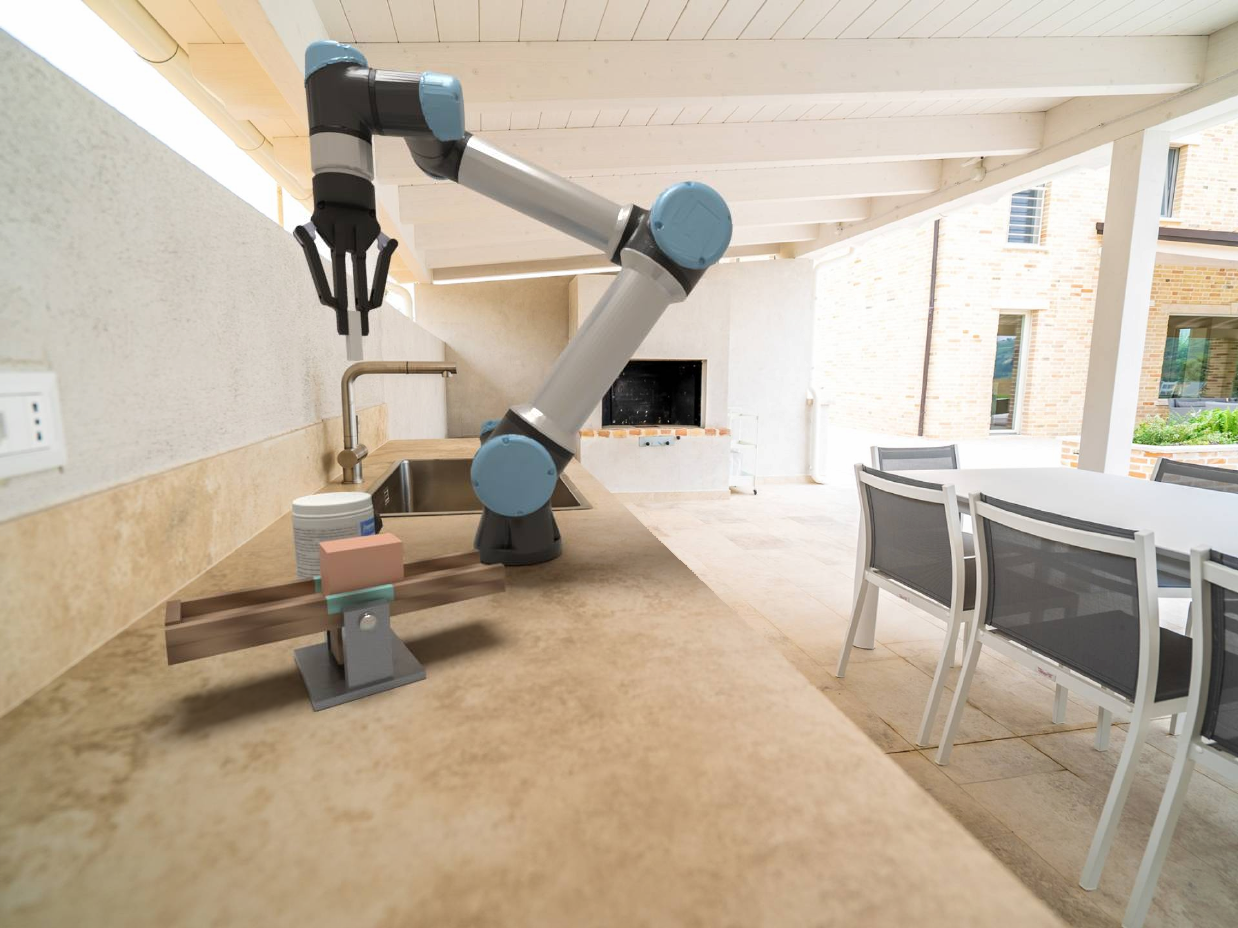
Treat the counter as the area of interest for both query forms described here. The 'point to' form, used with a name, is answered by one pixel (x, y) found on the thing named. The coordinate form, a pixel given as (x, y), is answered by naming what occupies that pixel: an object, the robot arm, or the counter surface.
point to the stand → (358, 658)
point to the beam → (316, 606)
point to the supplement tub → (327, 525)
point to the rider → (360, 563)
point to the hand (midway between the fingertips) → (355, 360)
